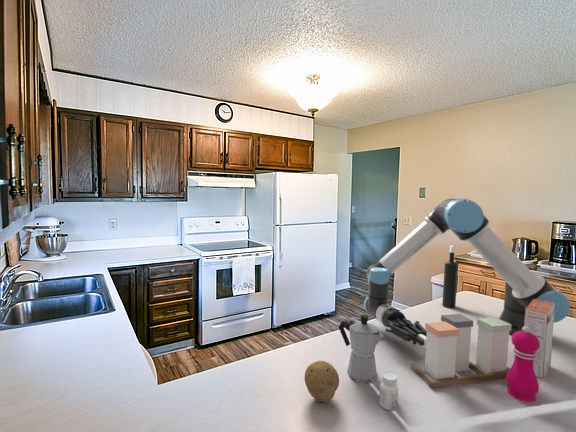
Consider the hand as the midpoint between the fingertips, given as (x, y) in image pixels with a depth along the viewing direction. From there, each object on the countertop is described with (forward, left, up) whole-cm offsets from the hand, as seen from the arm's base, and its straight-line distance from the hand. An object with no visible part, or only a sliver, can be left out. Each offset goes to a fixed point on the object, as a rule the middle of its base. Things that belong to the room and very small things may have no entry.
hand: (433, 348), depth 96 cm
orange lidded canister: (-1, +3, -8) cm, 8 cm away
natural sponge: (+32, +15, -9) cm, 37 cm away
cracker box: (-34, -9, -9) cm, 37 cm away
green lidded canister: (-18, -4, -8) cm, 20 cm away
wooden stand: (-9, -3, -9) cm, 13 cm away
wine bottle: (-29, -67, -9) cm, 73 cm away
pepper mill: (-21, +7, -9) cm, 24 cm away
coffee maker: (+21, +1, -9) cm, 23 cm away
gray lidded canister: (-8, -5, -8) cm, 12 cm away
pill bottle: (+15, +15, -9) cm, 23 cm away
